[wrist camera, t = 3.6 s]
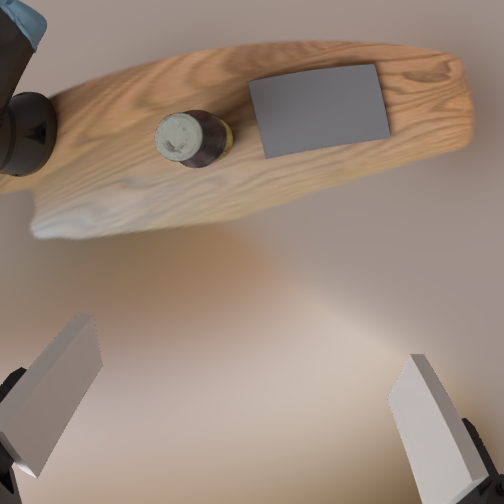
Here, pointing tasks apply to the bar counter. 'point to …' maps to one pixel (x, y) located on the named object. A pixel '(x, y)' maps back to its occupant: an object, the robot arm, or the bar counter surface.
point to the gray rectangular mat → (319, 109)
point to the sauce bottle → (193, 138)
